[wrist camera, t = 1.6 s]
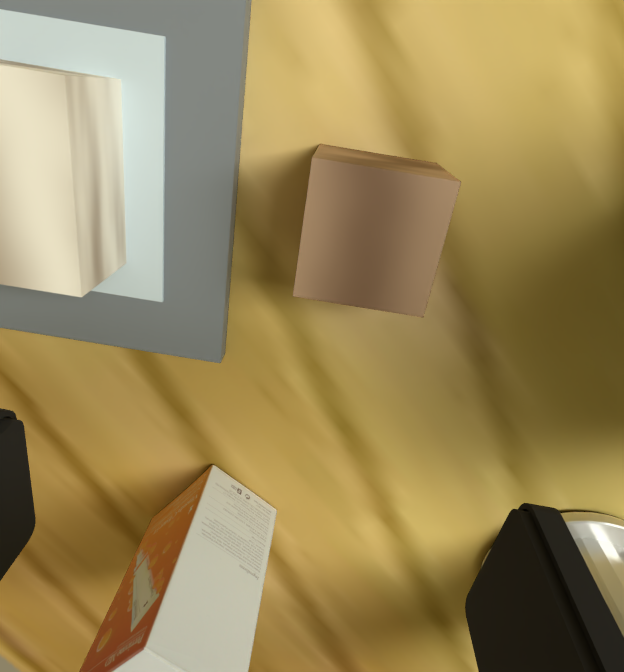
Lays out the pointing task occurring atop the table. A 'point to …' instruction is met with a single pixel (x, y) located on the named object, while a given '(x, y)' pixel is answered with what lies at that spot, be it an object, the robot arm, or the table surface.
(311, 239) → the walnut cube
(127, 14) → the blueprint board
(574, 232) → the table surface
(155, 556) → the small box
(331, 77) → the table surface
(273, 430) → the table surface
